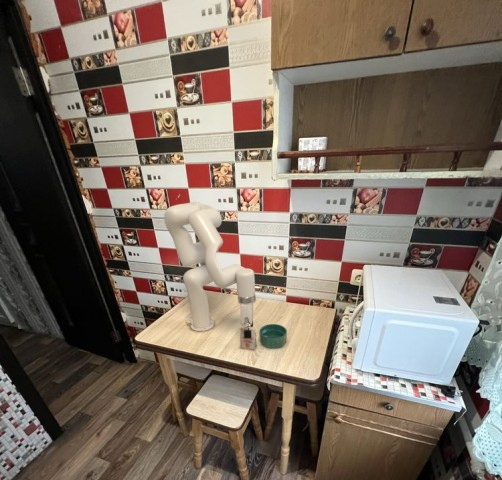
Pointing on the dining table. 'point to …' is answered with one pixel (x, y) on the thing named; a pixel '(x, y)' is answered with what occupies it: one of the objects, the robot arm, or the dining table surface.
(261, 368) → the dining table surface
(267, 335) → the teal faceted bowl
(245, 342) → the white juice carton
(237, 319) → the dining table surface
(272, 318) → the dining table surface
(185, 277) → the robot arm
